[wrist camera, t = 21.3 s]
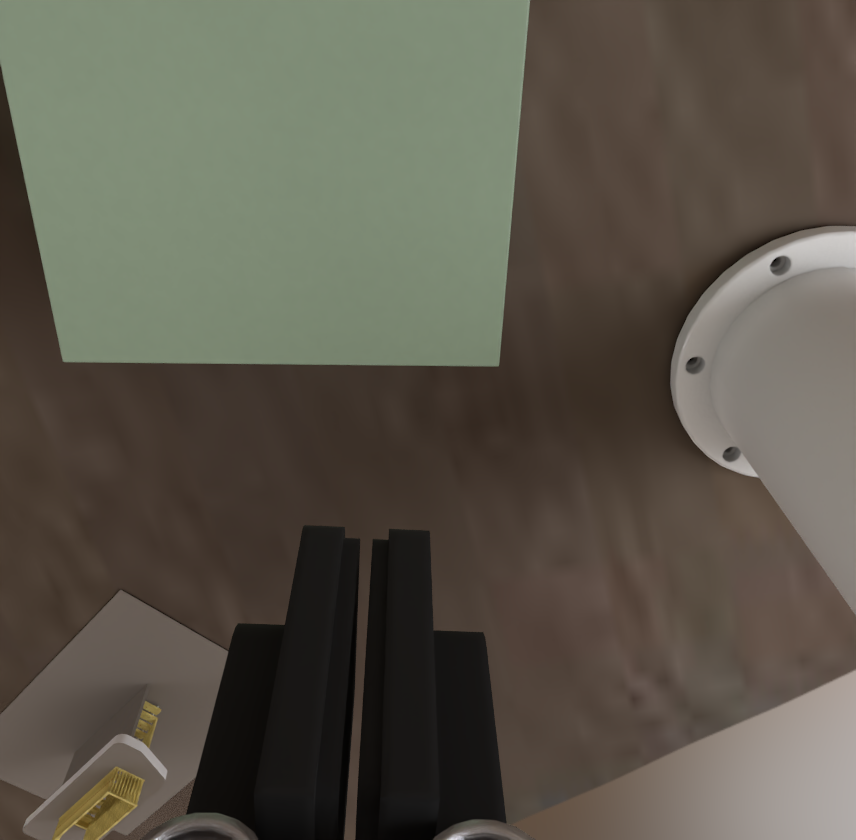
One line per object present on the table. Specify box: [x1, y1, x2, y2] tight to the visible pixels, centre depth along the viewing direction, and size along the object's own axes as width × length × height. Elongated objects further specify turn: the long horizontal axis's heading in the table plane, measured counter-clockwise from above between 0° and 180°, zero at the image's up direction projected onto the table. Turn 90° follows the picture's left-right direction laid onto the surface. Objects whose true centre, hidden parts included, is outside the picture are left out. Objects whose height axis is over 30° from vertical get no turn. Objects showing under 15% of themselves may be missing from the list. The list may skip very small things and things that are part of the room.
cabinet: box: [0, 0, 530, 366], centre depth 27 cm, size 17×15×9 cm
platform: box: [0, 590, 228, 840], centre depth 46 cm, size 12×18×6 cm, turn 137°
